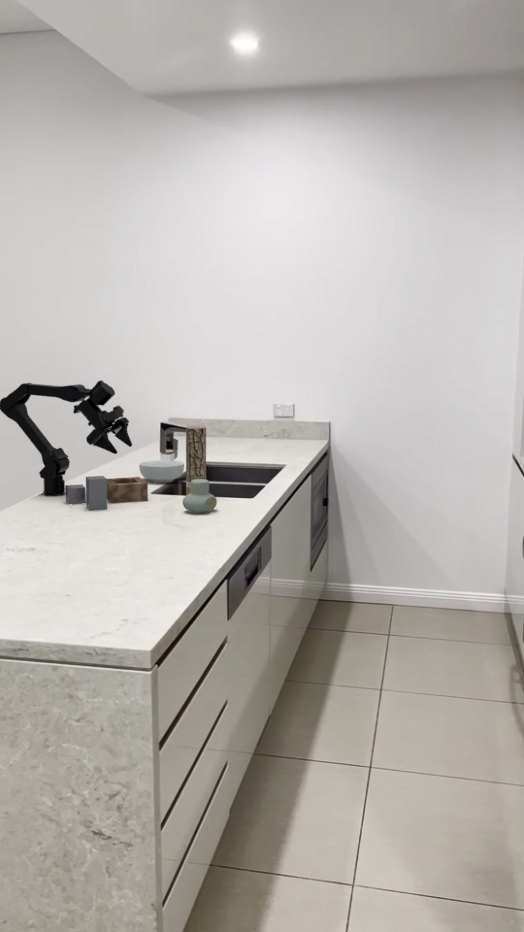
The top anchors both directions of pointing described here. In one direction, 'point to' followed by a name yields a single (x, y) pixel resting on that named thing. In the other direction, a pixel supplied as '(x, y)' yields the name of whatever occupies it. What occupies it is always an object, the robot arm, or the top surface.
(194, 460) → the bark textured wooden post
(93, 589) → the top surface
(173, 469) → the cereal bowl
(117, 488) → the brown wooden open box
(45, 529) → the top surface
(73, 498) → the gray cube
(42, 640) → the top surface
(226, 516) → the top surface
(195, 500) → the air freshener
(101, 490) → the grey rectangular block
